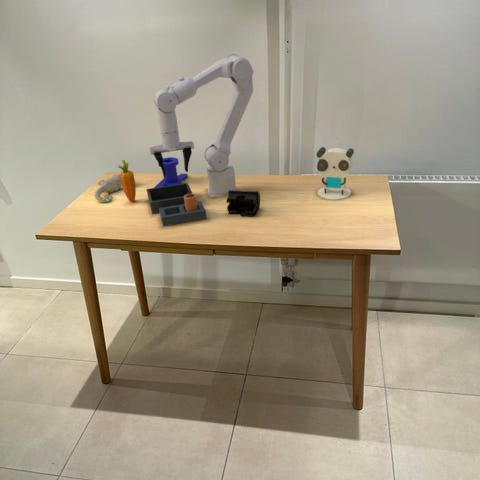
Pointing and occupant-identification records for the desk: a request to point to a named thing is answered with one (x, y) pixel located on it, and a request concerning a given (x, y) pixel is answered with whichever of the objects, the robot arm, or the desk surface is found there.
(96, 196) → the seahorse
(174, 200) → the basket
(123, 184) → the carrot
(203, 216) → the rack
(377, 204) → the desk surface
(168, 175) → the mount
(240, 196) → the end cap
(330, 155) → the panda figurine
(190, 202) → the tube
